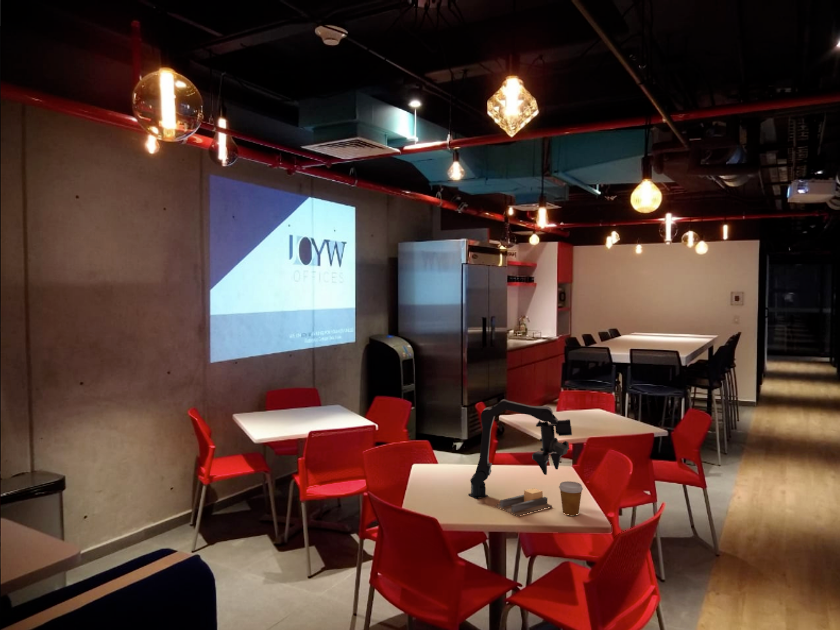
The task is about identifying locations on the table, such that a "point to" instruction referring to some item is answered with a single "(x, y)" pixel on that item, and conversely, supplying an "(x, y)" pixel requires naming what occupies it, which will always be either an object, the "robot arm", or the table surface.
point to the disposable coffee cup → (570, 497)
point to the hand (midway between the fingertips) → (551, 471)
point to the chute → (523, 505)
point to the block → (532, 494)
